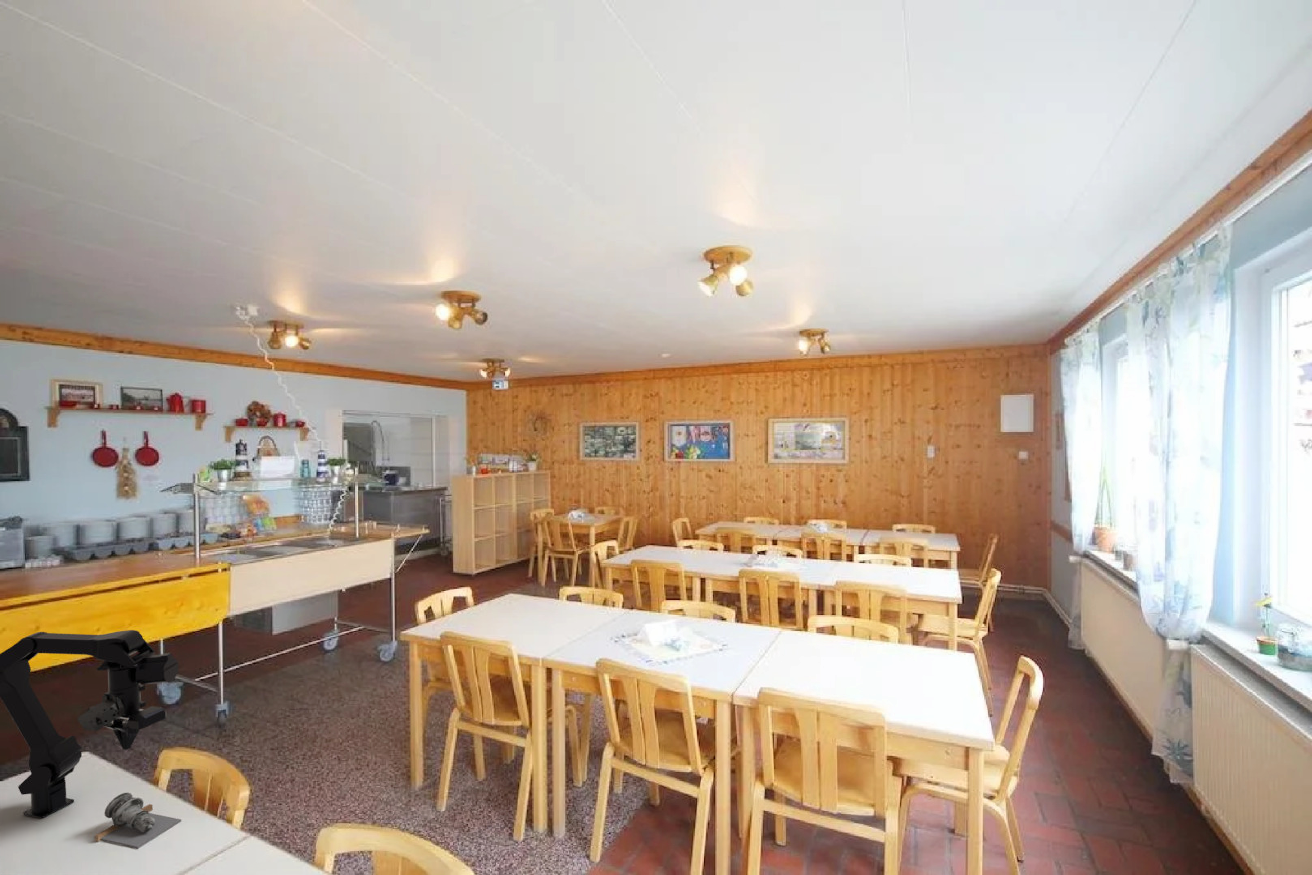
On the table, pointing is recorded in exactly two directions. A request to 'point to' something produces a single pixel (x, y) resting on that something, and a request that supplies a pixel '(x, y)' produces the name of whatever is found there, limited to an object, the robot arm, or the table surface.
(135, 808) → the stone baluster finial
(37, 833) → the table surface
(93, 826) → the table surface
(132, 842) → the mat
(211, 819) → the table surface
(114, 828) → the kerb
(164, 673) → the robot arm
